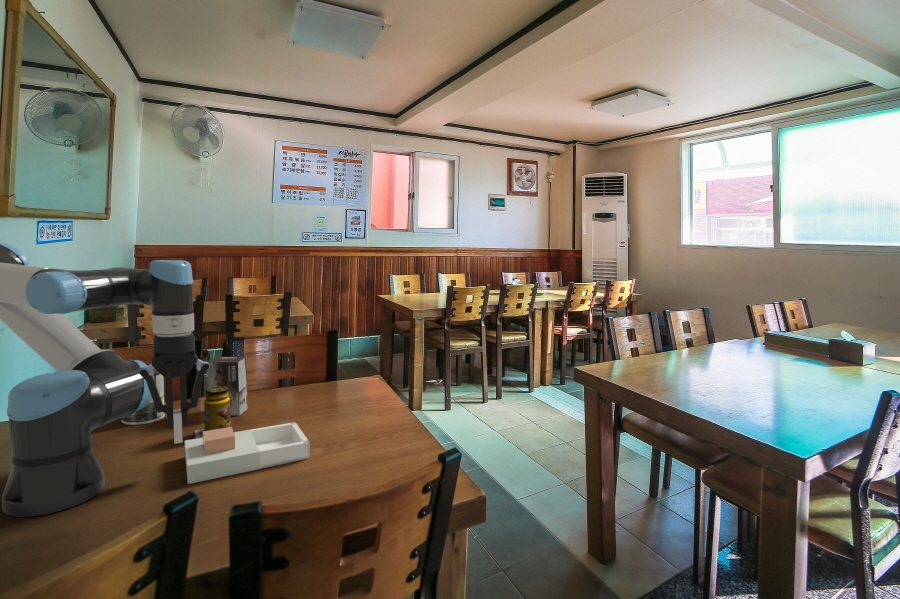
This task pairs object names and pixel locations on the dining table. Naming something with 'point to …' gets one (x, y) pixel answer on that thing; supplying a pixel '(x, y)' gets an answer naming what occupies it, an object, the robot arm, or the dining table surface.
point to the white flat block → (221, 458)
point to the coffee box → (230, 380)
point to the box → (281, 444)
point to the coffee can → (148, 407)
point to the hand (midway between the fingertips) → (178, 440)
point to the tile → (218, 440)
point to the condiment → (216, 410)
